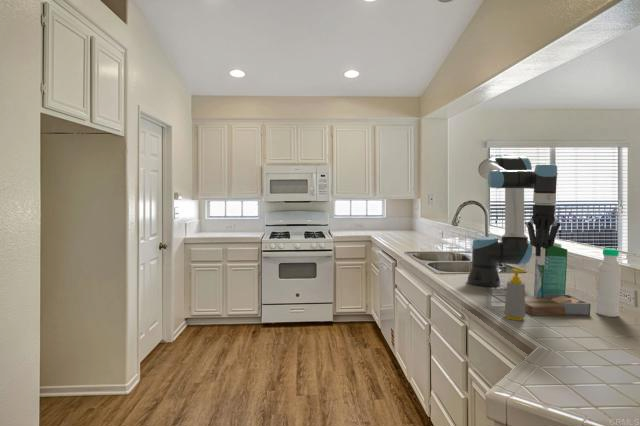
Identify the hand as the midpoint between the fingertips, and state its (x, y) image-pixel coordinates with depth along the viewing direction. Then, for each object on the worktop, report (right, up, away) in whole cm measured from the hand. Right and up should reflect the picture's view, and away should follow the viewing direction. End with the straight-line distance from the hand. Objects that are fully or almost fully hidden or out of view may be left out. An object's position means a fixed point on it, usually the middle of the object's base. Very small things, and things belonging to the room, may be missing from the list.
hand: (540, 264), depth 152 cm
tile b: (+11, -15, 0) cm, 19 cm away
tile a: (+8, -16, 0) cm, 18 cm away
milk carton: (+12, -17, +14) cm, 25 cm away
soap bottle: (-15, -18, -10) cm, 26 cm away
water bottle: (+23, -19, -5) cm, 30 cm away
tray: (+10, -18, 0) cm, 21 cm away
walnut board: (-1, -18, 0) cm, 18 cm away
